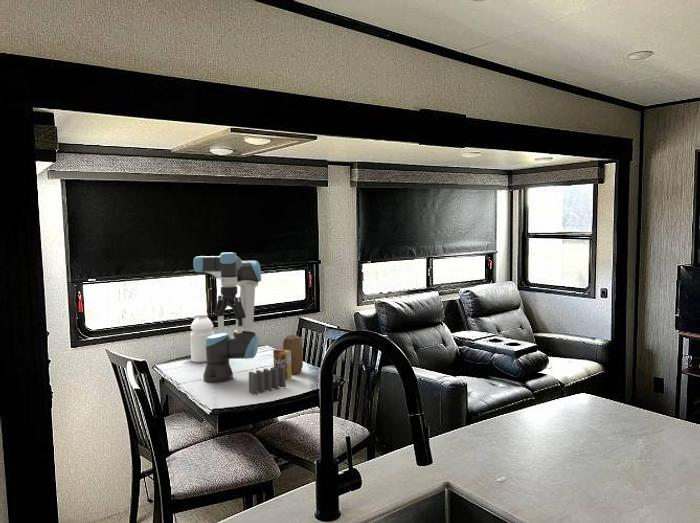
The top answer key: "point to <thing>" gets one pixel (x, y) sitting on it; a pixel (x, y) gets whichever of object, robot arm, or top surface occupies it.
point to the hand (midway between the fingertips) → (230, 331)
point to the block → (294, 352)
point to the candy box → (283, 360)
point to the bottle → (200, 336)
